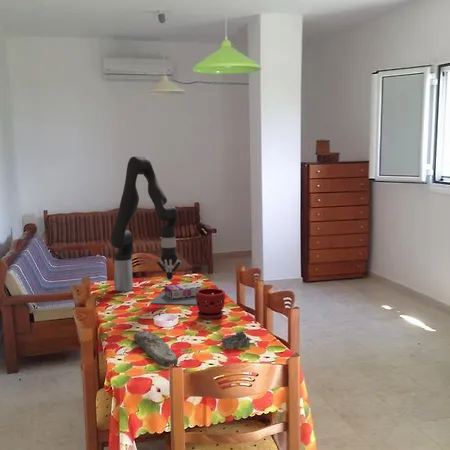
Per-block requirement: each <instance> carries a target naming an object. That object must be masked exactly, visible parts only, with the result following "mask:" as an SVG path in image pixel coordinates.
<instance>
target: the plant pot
mask: <svg viewBox="0 0 450 450" xmlns="http://www.w3.org/2000/svg"><path fill="white" fill-rule="evenodd" d="M225 296H226V292H225V291H224V290H223V289H220V288H201V289H200V290H198V291H197V292H196V302H197V305H196V306H197V309H198V311H197V316H198V317H200V318H202V319H204V320H216V319H219V318H220V317H222V316H223V314H224V313H223V309H224V306H225V299H226V297H225Z"/></svg>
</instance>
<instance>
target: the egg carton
mask: <svg viewBox="0 0 450 450" xmlns="http://www.w3.org/2000/svg"><path fill="white" fill-rule="evenodd" d="M220 340H221V346H222V347H225V349H227V350H234V348H242V346H243V347H244V346H245V347H248V346H249V345H250V344H251V341H250V340H251V338H250V337H249V336H247V334H246V333H245V332H244V331H243V330H242V331H240V330H239V331H238V332H236V333H235V334H232V335H229V336H226V337H224V338H223V337H222V338H220Z"/></svg>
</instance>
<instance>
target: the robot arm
mask: <svg viewBox="0 0 450 450" xmlns="http://www.w3.org/2000/svg"><path fill="white" fill-rule="evenodd" d="M126 167H127V168H126V174H125V180H124V185H123V191H122V195H121V200H120V203H119V207H118V212H117V215H116V220H115V223H114V227H112V228H113V229H112V231H111V235H110V244H111V246H112V247H113V248H114V249H118V250H117V251H116V253H114V257H113V258H114V273H113V284H114V291H115V292H121V293H122V292H130V291H133V290H134V285H133V283H134V282H133V280H134V279H133V263H132V260H133V259H132V256H133V253H134V252H133V251H134V250H133V249H134V241H133V240H134V239H133V235H132V232H131V231H130V230H128V229H127V227H128V226H129V223H130V221H131V220H132V219H133V217H134V216H135V214H136V212H137V210H138V206H139V201H140V197H139V191H138V189H137V178H138V175H139V176H140V175H141V176H143V177H145V179H146V182H147V193H148V197H150V198H149V199H151V202H152V204H153V207H154V210H155V214H156V217H157V218H158V220H159V221H161V222H166V223H165V224H164V225H162V226H161V227H160V234H161V235H160V236H161V238H160V246H161V247H160V249H161V251H160V253H161V257H160V260H158V261H157V262H156V264H157V265H158V266H159V268H161V270H162V271H163V272H165V273H166V279H168V280H172V279H173V278H174V272H175V271H177V269H178V268H179V267H180V266H181V264H182V260H179V259H178V256H177V241H176V226H177V222H178V217H179V216H178V214H179V213H178V210H177V208H176V207H175V206H174V205H169V206H165V204H167V203H168V199H167V197H166V194H165V193H164V191H163V190H162V188H161V186H160V184H159V181H158V179H157V176H156V174H155V171H154V168H153V165H152V163H151V161H150V159H149V158H148V157H145V156H131V157H130V158H129V159H128V162H127V165H126ZM174 265H175V266H174Z"/></svg>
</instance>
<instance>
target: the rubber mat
mask: <svg viewBox="0 0 450 450" xmlns="http://www.w3.org/2000/svg"><path fill="white" fill-rule="evenodd" d="M150 305H169V306H171V305H172V306H174V305H175V306H197V302H196V296H193V297H185V298H178V299H170V298H169V297H168V296H166V295H165V291H162V292H160V293H159V294H158V295H157V296H156V297H155V298H154V299H153V300H152V301H151V302H150Z"/></svg>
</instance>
